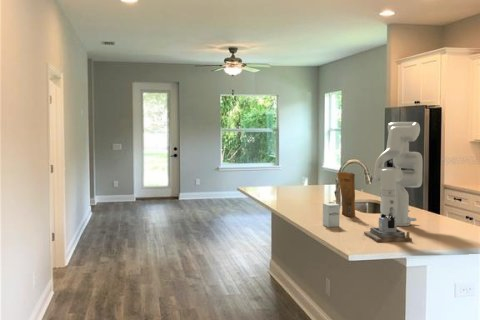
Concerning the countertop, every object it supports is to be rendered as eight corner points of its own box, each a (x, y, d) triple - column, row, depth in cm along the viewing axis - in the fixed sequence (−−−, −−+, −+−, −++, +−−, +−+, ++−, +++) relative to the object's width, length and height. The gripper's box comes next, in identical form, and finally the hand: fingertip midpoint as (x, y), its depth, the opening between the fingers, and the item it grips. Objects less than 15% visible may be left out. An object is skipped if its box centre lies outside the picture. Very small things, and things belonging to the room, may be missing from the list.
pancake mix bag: (349, 218, 305) (350, 173, 303) (335, 213, 323) (336, 170, 321) (359, 217, 306) (359, 173, 305) (345, 212, 325) (345, 170, 323)
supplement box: (327, 227, 276) (328, 205, 276) (322, 224, 284) (322, 203, 283) (339, 226, 278) (340, 204, 278) (333, 224, 286) (334, 202, 285)
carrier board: (396, 233, 260) (396, 225, 260) (411, 241, 242) (412, 232, 242) (363, 234, 258) (364, 225, 258) (376, 242, 240) (376, 233, 240)
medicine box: (392, 233, 253) (393, 217, 252) (396, 235, 248) (396, 218, 248) (378, 234, 252) (378, 217, 251) (381, 236, 247) (382, 219, 247)
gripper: (402, 195, 240) (401, 229, 242) (388, 190, 258) (387, 222, 259) (387, 195, 240) (386, 229, 241) (374, 190, 257) (374, 223, 258)
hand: (387, 226), depth 250 cm, fingers open, 9 cm apart
